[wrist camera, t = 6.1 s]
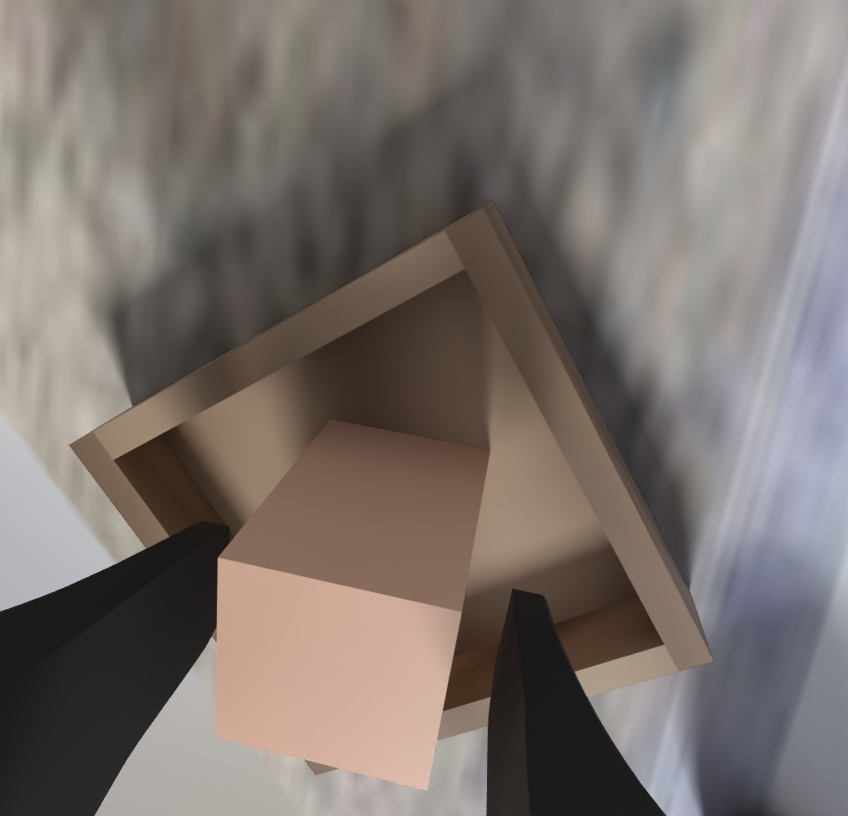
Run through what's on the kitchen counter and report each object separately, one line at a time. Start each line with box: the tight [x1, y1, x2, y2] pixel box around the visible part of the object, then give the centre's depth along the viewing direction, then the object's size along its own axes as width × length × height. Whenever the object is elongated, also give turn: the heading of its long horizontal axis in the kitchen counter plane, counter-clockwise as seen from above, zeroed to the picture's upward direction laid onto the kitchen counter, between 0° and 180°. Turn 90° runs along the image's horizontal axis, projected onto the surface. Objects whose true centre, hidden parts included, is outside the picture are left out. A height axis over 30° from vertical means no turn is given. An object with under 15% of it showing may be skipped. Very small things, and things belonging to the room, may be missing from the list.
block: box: [215, 419, 490, 791], centre depth 14 cm, size 4×4×6 cm
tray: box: [69, 200, 714, 775], centre depth 16 cm, size 11×11×2 cm
